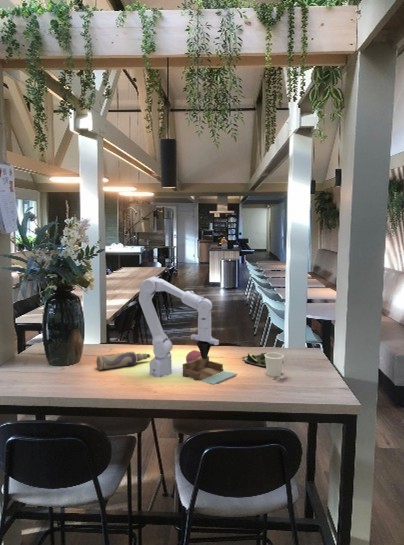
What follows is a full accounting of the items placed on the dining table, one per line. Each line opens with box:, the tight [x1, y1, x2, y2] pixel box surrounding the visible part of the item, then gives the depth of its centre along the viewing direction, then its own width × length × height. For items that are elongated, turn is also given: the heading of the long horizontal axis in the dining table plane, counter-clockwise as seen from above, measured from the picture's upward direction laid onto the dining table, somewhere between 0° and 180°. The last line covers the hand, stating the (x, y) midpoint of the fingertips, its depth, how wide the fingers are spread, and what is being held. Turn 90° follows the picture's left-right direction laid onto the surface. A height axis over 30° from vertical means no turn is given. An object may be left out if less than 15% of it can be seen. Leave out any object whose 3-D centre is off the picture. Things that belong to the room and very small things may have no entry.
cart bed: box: [182, 355, 224, 382], centre depth 191 cm, size 18×10×6 cm, turn 138°
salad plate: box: [241, 352, 267, 369], centre depth 213 cm, size 19×18×5 cm
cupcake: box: [185, 349, 202, 363], centre depth 201 cm, size 9×8×12 cm
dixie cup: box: [264, 352, 285, 381], centre depth 190 cm, size 8×8×10 cm
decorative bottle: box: [95, 351, 151, 371], centre depth 207 cm, size 26×8×7 cm, turn 118°
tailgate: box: [201, 370, 238, 386], centre depth 186 cm, size 16×1×8 cm
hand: (204, 358), depth 188 cm, fingers closed
